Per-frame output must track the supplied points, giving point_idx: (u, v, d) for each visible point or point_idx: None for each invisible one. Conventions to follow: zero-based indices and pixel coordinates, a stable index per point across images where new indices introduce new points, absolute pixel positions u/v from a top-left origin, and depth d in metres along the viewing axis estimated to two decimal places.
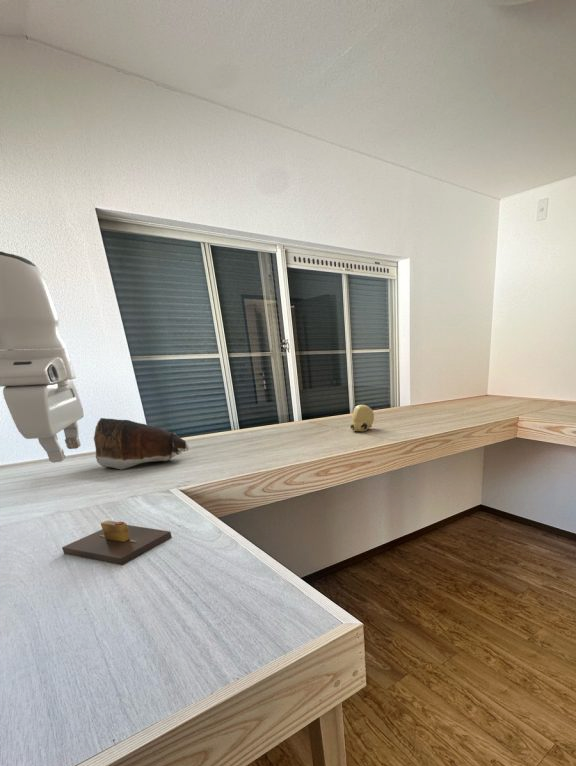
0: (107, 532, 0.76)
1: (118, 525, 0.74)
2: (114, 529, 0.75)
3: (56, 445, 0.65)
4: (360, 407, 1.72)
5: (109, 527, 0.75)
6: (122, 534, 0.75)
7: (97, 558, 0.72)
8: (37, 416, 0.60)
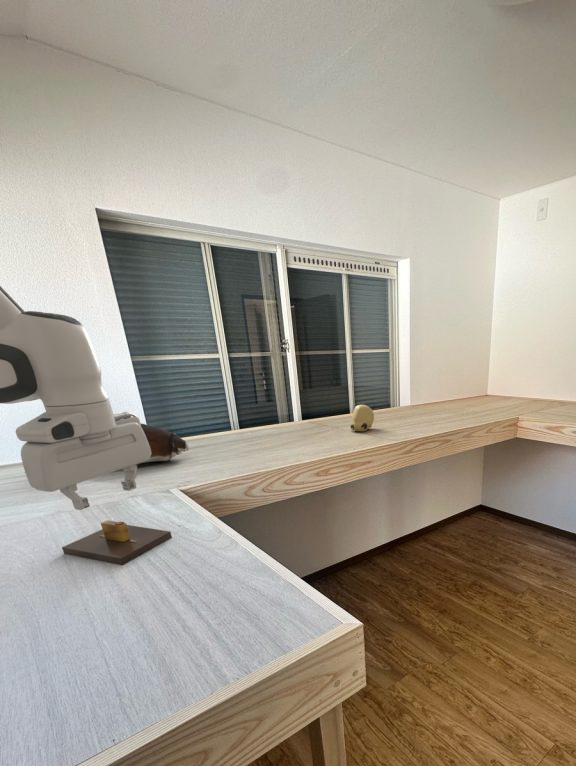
0: (107, 532, 0.76)
1: (118, 525, 0.74)
2: (114, 529, 0.75)
3: (73, 496, 0.67)
4: (360, 407, 1.72)
5: (109, 527, 0.75)
6: (122, 534, 0.75)
7: (97, 558, 0.72)
8: (37, 473, 0.62)
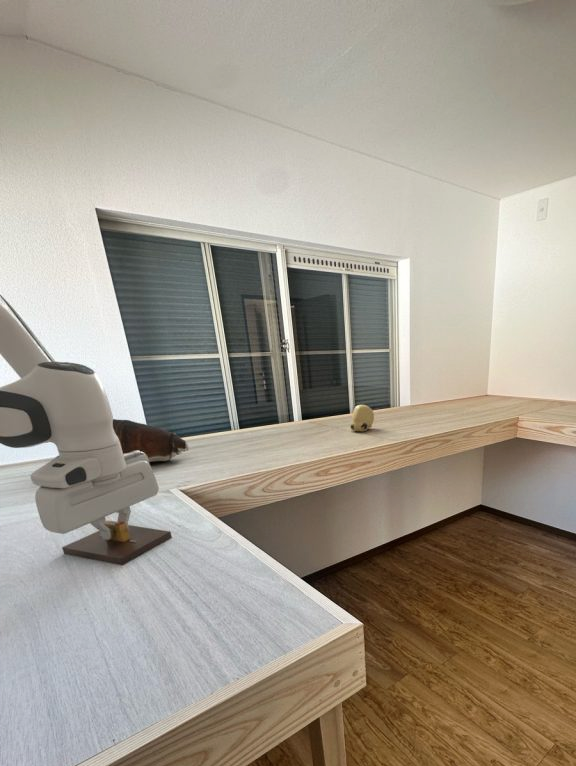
0: None
1: (118, 525, 0.74)
2: None
3: (102, 527, 0.73)
4: (360, 407, 1.72)
5: None
6: (122, 534, 0.75)
7: (97, 558, 0.72)
8: (51, 516, 0.65)
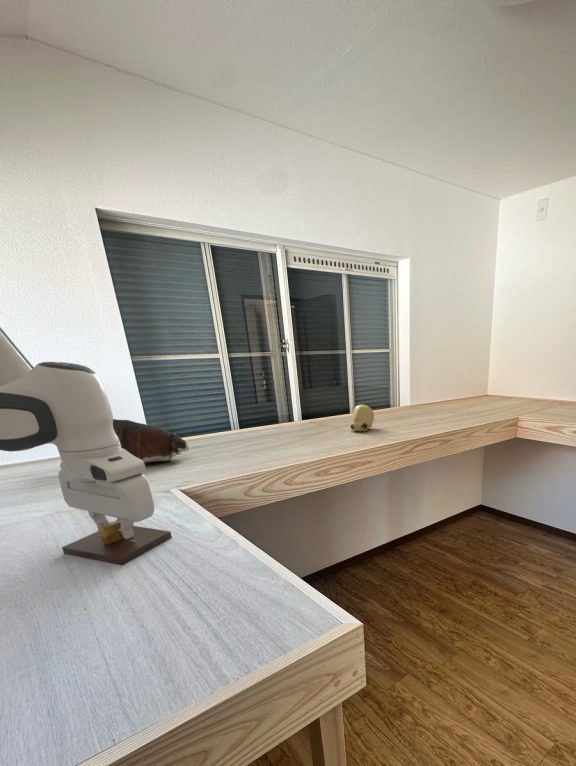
0: (111, 535, 0.75)
1: None
2: None
3: (133, 522, 0.74)
4: (360, 407, 1.72)
5: (114, 527, 0.75)
6: None
7: (97, 558, 0.72)
8: (147, 500, 0.70)
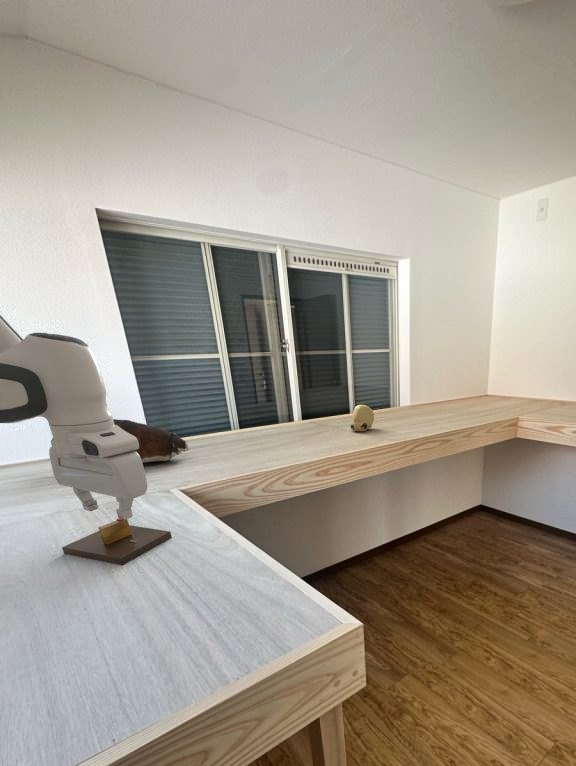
0: (111, 535, 0.75)
1: None
2: (121, 525, 0.76)
3: (131, 502, 0.72)
4: (360, 407, 1.72)
5: (114, 527, 0.75)
6: (129, 527, 0.78)
7: (97, 558, 0.72)
8: (140, 477, 0.69)
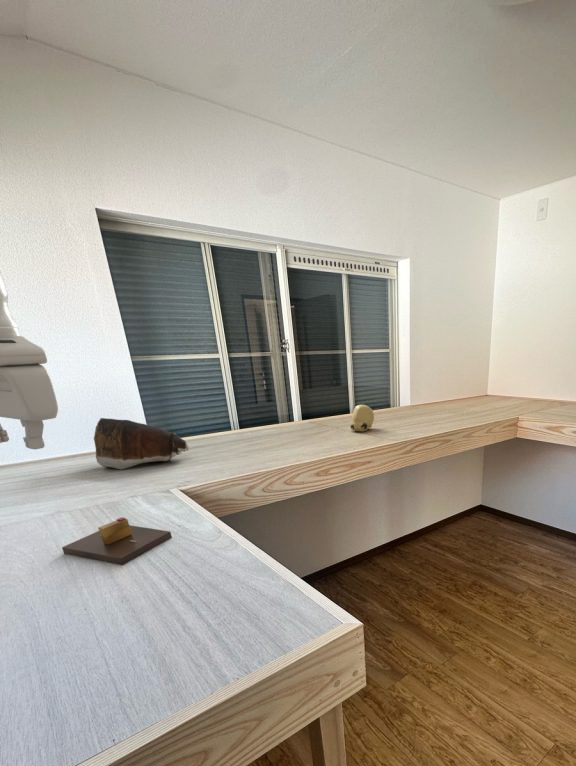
0: (111, 535, 0.75)
1: (125, 519, 0.77)
2: (121, 525, 0.76)
3: (42, 429, 0.62)
4: (360, 407, 1.72)
5: (114, 527, 0.75)
6: (129, 527, 0.78)
7: (97, 558, 0.72)
8: (47, 396, 0.59)
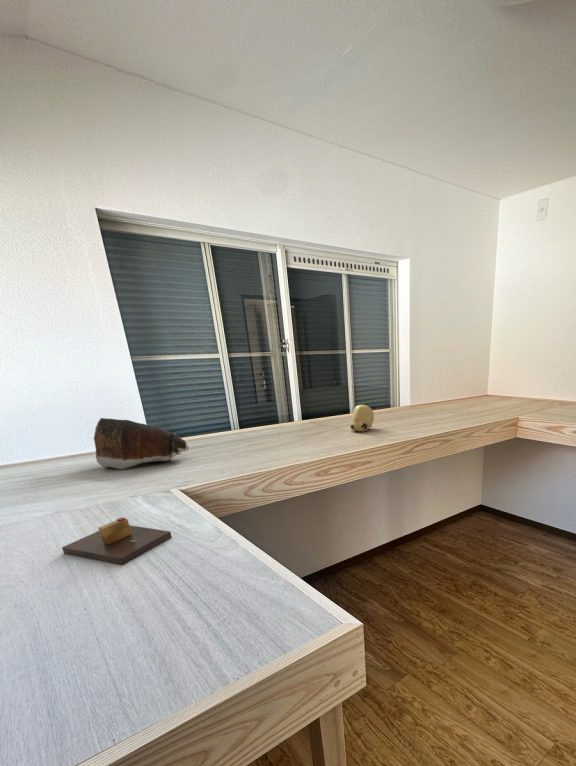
0: (111, 535, 0.75)
1: (125, 519, 0.77)
2: (121, 525, 0.76)
3: None
4: (360, 407, 1.72)
5: (114, 527, 0.75)
6: (129, 527, 0.78)
7: (97, 558, 0.72)
8: None
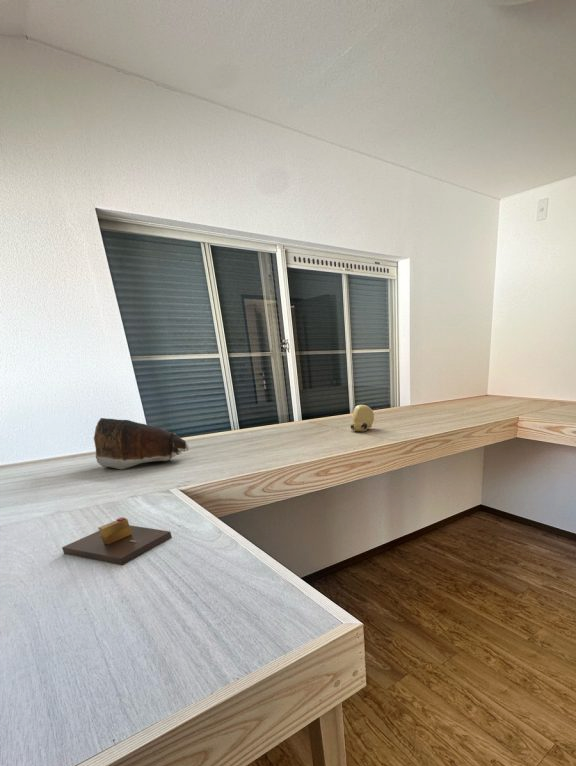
0: (111, 535, 0.75)
1: (125, 519, 0.77)
2: (121, 525, 0.76)
3: None
4: (360, 407, 1.72)
5: (114, 527, 0.75)
6: (129, 527, 0.78)
7: (97, 558, 0.72)
8: None
